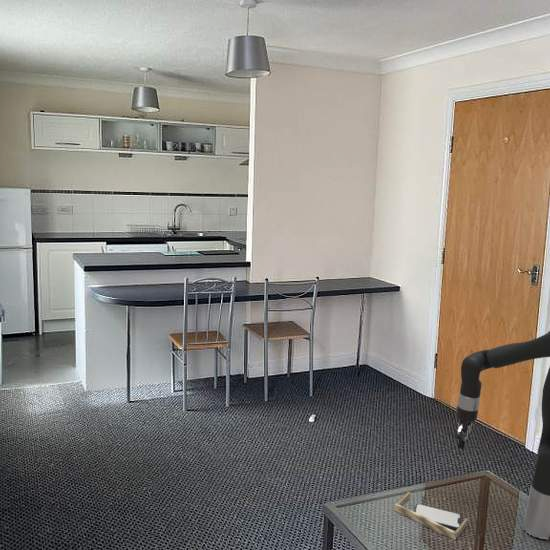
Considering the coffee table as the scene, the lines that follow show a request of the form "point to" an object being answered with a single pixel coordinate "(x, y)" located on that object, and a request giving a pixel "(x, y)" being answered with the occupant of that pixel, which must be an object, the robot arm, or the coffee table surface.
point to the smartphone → (440, 516)
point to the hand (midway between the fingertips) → (461, 448)
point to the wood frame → (426, 521)
